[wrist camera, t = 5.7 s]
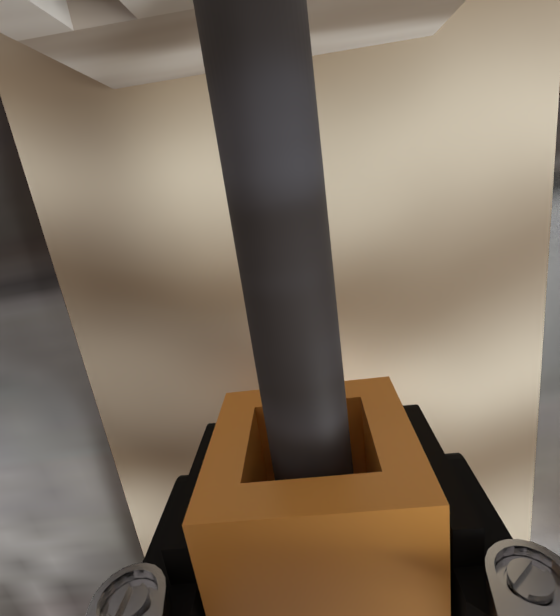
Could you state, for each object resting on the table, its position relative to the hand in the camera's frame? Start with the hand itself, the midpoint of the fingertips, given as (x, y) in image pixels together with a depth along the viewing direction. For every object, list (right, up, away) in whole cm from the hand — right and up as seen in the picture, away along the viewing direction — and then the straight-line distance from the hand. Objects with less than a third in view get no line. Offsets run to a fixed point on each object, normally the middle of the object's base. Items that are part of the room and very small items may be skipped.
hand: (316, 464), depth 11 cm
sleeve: (0, 0, 0) cm, 0 cm away
